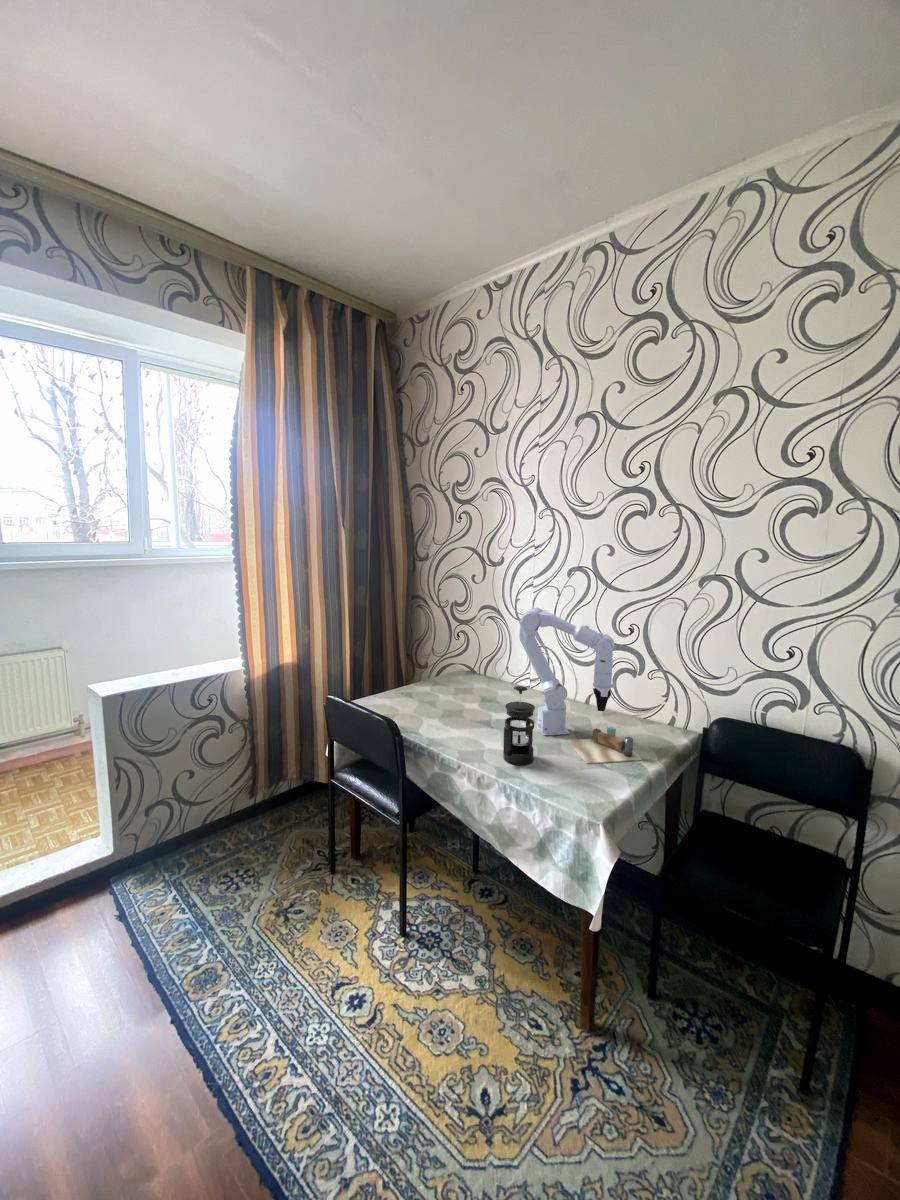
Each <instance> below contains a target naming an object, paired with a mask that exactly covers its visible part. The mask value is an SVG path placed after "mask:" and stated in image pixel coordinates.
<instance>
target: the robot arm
mask: <svg viewBox="0 0 900 1200" xmlns="http://www.w3.org/2000/svg"><path fill="white" fill-rule="evenodd" d="M547 627H552V628H554V629H556V630H559V631H561V632H564V633H565V634H569V635H571V636H572V637H573V640H574V641H575V642H578V643H579V644H581V645H584V646H586V647H587V648H588V647H589V648H590V649H591V650H592V649H593V650H594V652H595V657H594V669H593V682H592V686H593V688H592V690H593V694H594V695H595V701H596V708H597V711H598V712H605V711H606V707H607V703H608V701H609V698H610V697H611V696H612V692H611V691H612V689H615V688H616V685H615V684H614V683H612V682H613V681H612V680H613V679H612V678H613V663H614V658H613V656H614V653H613V651H614V647H615V640H614V639H613V637H611V636H610V635H609V634H607V633H605V634H604V632H601V631H600V632H598V631H596V630H593V629H592V628H590V626H589V625H587V624H585V625H583V624H581V625H578V626H576V625H574V624H572V623H570V622H569V621H567V620H564V619H563V618H561V617H558V616H557V615H555V614H553V613H552V612H550V611H547V610H543V609H541V608H539V607H532V608H531V609H529V611H525V612H524V613H523V615H521V618H520V621H519V635H518V637H519V641H520V643H521V645H522V647H523V649H524V651H525V653H526V655H527V657H528V659H529V661H530V663H531V665H532V667H533V669H534V671H535V673H536V675H537V678H538V680H539V681H540V683H541V690H542V694H543V698H544V699H543V700H544V703H545V705H542V706H538V708H537V714H536V715H537V719H536V720H537V721H536V728H537V729H538V731H539V732H540V733H541V735H542V736H559V735H570V732H569V731H568V729H566V720H567V719H566V717H567V704H566V703H565V700H566V698H567V697H568V690H567V688H566V687H565V686H564V685H563V684H562V683H561V681H560V680H559V679H558V678H557V677H556V676H555V674H554V673H553V671H552V669H551V667H550V664H549V663H548V661H547V659H546V656H545V654H544V653H543V651H542V648H541V646H540V645H539V643H538V641H537V639H536V635H537V632H538V631H539V628H547Z"/></svg>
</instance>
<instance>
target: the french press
mask: <svg viewBox="0 0 900 1200" xmlns="http://www.w3.org/2000/svg"><path fill="white" fill-rule="evenodd" d="M513 690H515V691H517V692H518V694H519V701H510V702H507V703H506V704H505V709H506V714H507V715H508V716H509V717H507V718H506V719H504V727H503V752H502V753H503V760H504V761H505V763H507V764H509V765H513V766H519V767H520V766H528V765H530V764H532V763H534V760H535V756H534V747H533V741H534V739H533V738H534V737H533V733H534V729H535V721H534V720H533V719H531V717H533V716H534V711H535V710H536V707H535V704H533V703H530V702H526V701H522V694H523V692H525V691H528V687H527V686H525V685H524V686H523V685H516V686H514V687H513ZM515 721H518V726H512V723H511V722H515ZM521 721H523V722H525V727H521ZM516 732H517V733H516ZM515 753H519V754H515Z"/></svg>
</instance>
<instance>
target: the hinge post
mask: <svg viewBox="0 0 900 1200" xmlns="http://www.w3.org/2000/svg"><path fill="white" fill-rule="evenodd" d="M624 742H625V750H624V755H625V756H626V757H632V753H633V752H634V737H631V736H626V737H624Z"/></svg>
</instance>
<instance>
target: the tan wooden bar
mask: <svg viewBox="0 0 900 1200" xmlns="http://www.w3.org/2000/svg"><path fill="white" fill-rule="evenodd" d="M616 737H617V736H615V737H614V736H611V735H609V734H607V732H603V731H602V730H601V729H600V728H597V727H596V728H594V729H593V730H592V739H593V740H594V741H596V742H599V743H601V744H603V745H606V746H608V747H610V748H613V749H615V750H617V751H620V752H622V751H624V749H625V739H621V738H619V737H618V738H616Z"/></svg>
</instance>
